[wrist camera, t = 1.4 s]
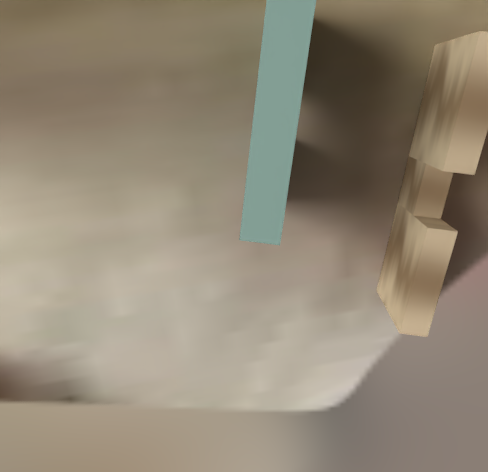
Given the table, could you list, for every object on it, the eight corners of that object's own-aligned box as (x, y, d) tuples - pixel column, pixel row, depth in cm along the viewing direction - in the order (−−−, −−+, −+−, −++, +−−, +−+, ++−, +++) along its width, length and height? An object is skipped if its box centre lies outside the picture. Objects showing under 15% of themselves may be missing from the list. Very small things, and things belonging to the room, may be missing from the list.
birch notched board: (434, 44, 31) (480, 31, 24) (462, 48, 31) (515, 35, 24) (376, 290, 37) (399, 333, 30) (399, 293, 37) (427, 336, 30)
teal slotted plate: (248, 197, 35) (239, 240, 25) (270, 10, 31) (270, -33, 20) (277, 200, 35) (279, 245, 25) (303, 14, 30) (320, -28, 20)
